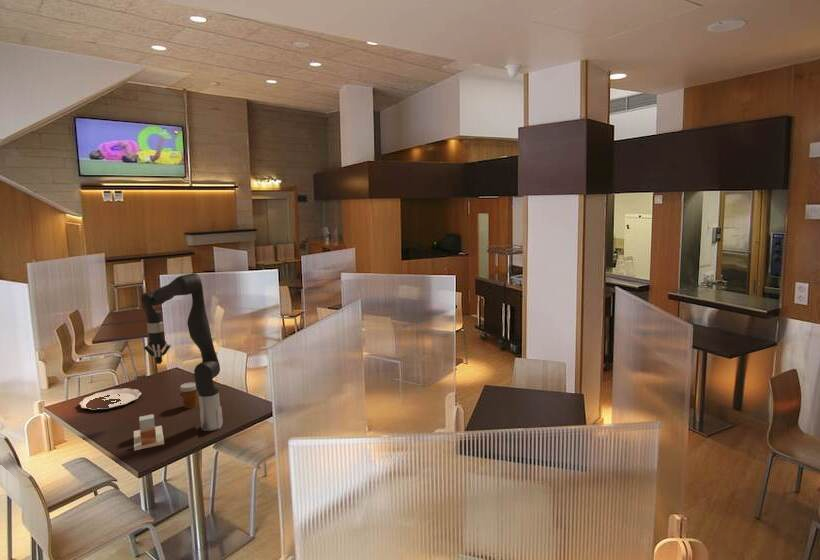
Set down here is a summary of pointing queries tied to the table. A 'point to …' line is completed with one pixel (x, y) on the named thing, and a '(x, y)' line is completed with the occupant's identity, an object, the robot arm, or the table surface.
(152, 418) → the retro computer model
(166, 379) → the table surface
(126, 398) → the plate
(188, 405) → the disposable coffee cup
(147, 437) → the block
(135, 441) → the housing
